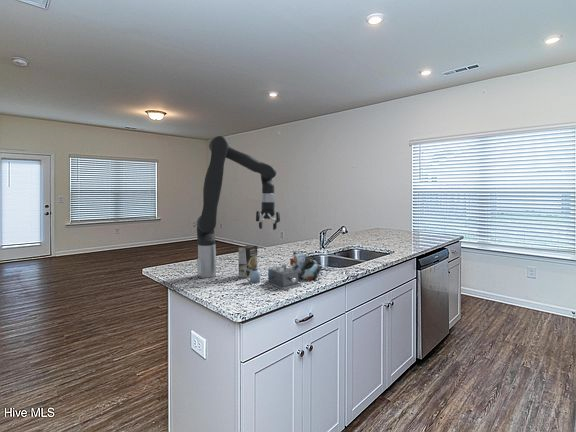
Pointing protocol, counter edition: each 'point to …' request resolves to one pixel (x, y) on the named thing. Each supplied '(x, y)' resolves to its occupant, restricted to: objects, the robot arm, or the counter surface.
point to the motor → (283, 277)
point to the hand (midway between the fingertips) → (267, 229)
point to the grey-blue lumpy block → (305, 266)
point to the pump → (254, 275)
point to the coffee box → (247, 260)
